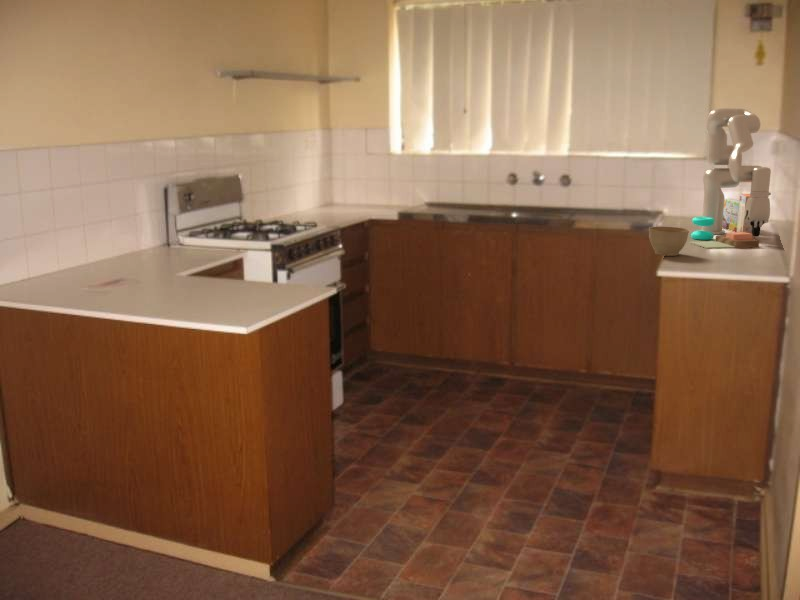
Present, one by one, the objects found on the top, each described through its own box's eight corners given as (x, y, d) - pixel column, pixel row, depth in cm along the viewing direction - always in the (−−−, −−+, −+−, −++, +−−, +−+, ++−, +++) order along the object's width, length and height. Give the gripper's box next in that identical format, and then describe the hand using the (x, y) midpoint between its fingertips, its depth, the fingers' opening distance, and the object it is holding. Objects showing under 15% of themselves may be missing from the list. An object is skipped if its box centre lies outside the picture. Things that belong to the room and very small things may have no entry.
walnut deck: (715, 242, 386) (715, 235, 385) (737, 241, 388) (738, 235, 387) (735, 248, 370) (735, 241, 369) (758, 247, 371) (758, 240, 371)
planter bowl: (676, 259, 343) (678, 232, 340) (640, 254, 354) (641, 229, 351) (693, 254, 354) (695, 228, 352) (657, 250, 365) (659, 225, 363)
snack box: (720, 227, 433) (722, 198, 429) (730, 227, 433) (733, 198, 430) (739, 233, 412) (742, 203, 409) (750, 233, 412) (753, 203, 409)
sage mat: (689, 243, 384) (689, 241, 383) (715, 242, 385) (716, 241, 385) (707, 248, 368) (707, 247, 368) (734, 247, 370) (734, 246, 370)
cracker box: (755, 242, 387) (759, 196, 382) (741, 241, 388) (745, 196, 383) (749, 237, 400) (753, 193, 395) (735, 237, 401) (739, 193, 397)
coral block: (726, 237, 380) (726, 232, 380) (744, 236, 382) (745, 232, 381) (733, 239, 374) (733, 234, 374) (752, 238, 376) (752, 234, 375)
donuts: (719, 218, 391) (701, 219, 388) (717, 240, 393) (699, 241, 390) (705, 216, 400) (688, 216, 397) (704, 236, 402) (686, 237, 399)
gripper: (769, 194, 380) (765, 234, 384) (739, 194, 377) (735, 235, 382) (779, 195, 372) (775, 236, 377) (748, 196, 370) (744, 237, 374)
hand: (755, 235), depth 379 cm, fingers closed
